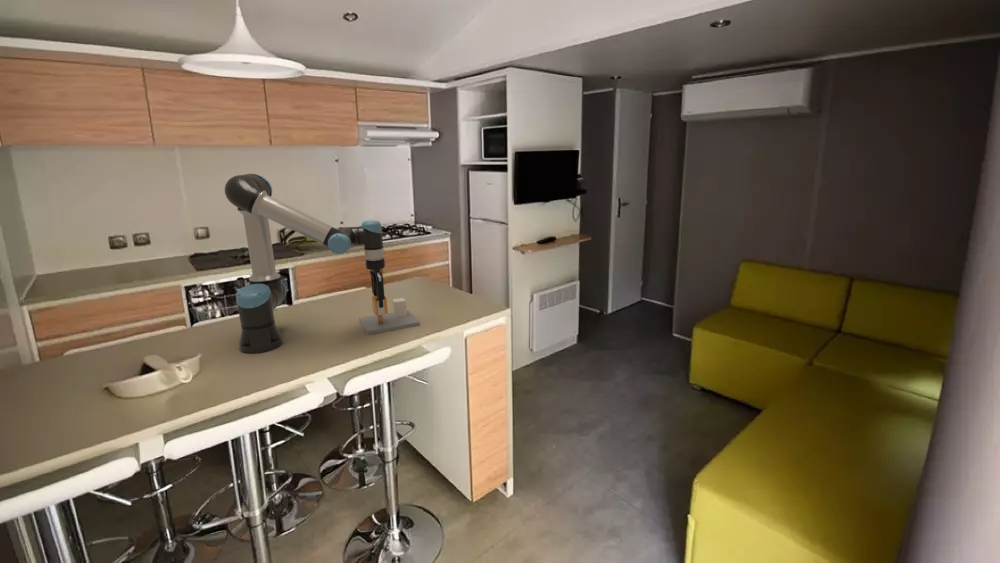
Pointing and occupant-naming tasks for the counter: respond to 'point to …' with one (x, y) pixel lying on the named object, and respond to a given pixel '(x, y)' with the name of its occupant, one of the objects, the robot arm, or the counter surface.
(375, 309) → the orange rectangular block
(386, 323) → the plate
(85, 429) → the counter surface
